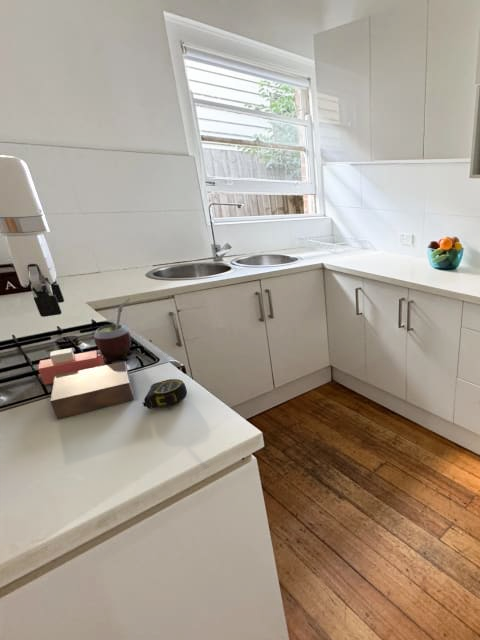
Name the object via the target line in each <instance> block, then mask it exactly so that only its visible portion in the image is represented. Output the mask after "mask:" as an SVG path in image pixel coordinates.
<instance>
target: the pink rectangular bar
mask: <svg viewBox="0 0 480 640" xmlns="http://www.w3.org/2000/svg"><path fill="white" fill-rule="evenodd" d="M104 365H106V362H105V359H104V356H103V355H102V354H101V353H98V350H97V349H96V350H89V351H85V352H79V353H74V349H73V347H69V348H64V349H58V350H52V351H50V353H49V358H47V359H42V360H39V363H38V367H37V370H38V373H39V375H40V377H41V380H42V383H43V385H44V386H46V385H50V384H52V385H53V382H54V377H55V375H60V374H65V373H70V372H75V371H80V370H85V369H89V368H94V367H99V366H104Z"/></svg>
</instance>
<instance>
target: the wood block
mask: <svg viewBox="0 0 480 640" xmlns="http://www.w3.org/2000/svg"><path fill="white" fill-rule="evenodd" d="M134 400H135V397H134V391H133V387H132V380H131V376H130V372H129V369H128V366H127V362H126V360H122V361H120V362H119V361H118V362H114V363H108V364H105V365H104V366H99V367H94V368H89V369H85V370H80V371H75V372H70V373H65V374H60V375H55V377H54V382H53V383H52V389H51V394H50V400H49V403H50V405H51V408H52V410H53V412H54V414H55V416H56V419H57V420H59V419H63V418H68V417H71V416H75V415H78V414H83V413H87V412H91V411H94V410H99V409H101V408H102V409H103V408H107V407H110V406H115V405H117V404H118V405H119V404H122V403H126V402H130V401H134Z"/></svg>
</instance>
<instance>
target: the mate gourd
mask: <svg viewBox="0 0 480 640" xmlns="http://www.w3.org/2000/svg"><path fill="white" fill-rule="evenodd" d="M130 300H131V298H130V297H129V298H128V299H126V300H125V301H123V302H122V303H121V304H120V305H119V306H118V308H117V316H116V324H108V325H104V326H103V325H102V326H100V327H99V328H97V329H96V330H95V332H94V334H93V339H94V344H95V345H96V347H97V349H98V350H99V352H100V354H102V357H103V359H104V363H105V364H110V363H111V362H114V361H116V360H122V361H129V359H130V358H129V357H128V356H129V355H131V354H133V352H132V350H131V349H130V348H131V345H132V336H131V333H130V331H129V329H128V328H126V327H125V326H124V325H122V324H120V321H121V316H122V312H123V308H124V306H125V305H126V304H127V303H128V302H129V301H130Z"/></svg>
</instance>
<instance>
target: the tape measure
mask: <svg viewBox="0 0 480 640" xmlns="http://www.w3.org/2000/svg"><path fill="white" fill-rule="evenodd" d="M187 394H188V389H187V386H186V384H185V382H184V381H183V380H182V379H177V378H169V379H165V380H162V381H158V382H156V383H155V382H154V383H153V384H151V386H150V387H149V390H148V392H147V394H146V396H144V399H143V402H141V404H142V406H143V407H145V408H147V409H149V410H152V409H156V408H165V407H171V406H174V405H176V404H179V403H181V402H182V401H183V400H184V399H186V397H187Z"/></svg>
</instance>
